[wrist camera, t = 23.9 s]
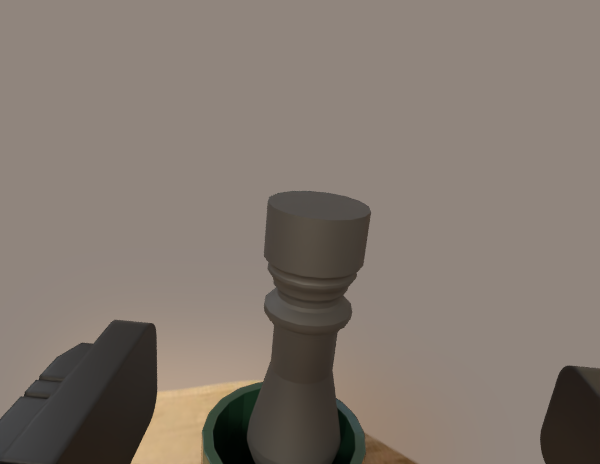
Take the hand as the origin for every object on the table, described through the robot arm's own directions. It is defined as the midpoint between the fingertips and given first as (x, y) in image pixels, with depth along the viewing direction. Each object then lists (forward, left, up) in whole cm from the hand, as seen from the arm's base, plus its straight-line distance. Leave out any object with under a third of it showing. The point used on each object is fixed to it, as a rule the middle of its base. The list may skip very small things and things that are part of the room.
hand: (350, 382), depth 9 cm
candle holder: (+6, -16, -26) cm, 31 cm away
